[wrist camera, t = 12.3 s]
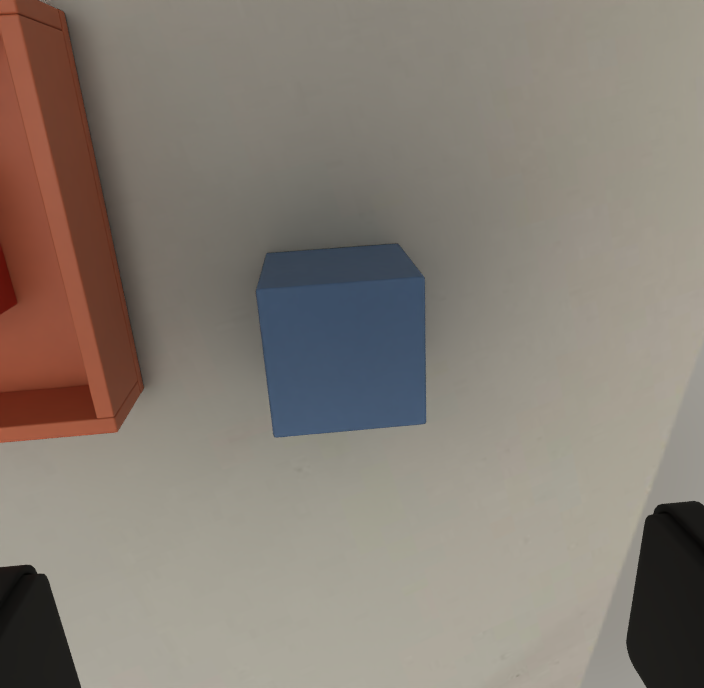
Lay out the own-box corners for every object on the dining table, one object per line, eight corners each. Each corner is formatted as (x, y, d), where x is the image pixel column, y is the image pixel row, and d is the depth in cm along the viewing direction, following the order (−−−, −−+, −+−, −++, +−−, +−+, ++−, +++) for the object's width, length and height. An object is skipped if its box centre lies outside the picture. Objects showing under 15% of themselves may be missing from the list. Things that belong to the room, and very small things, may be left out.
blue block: (265, 252, 21) (254, 289, 17) (398, 243, 21) (425, 276, 17) (279, 374, 23) (273, 438, 18) (402, 364, 23) (426, 424, 19)
